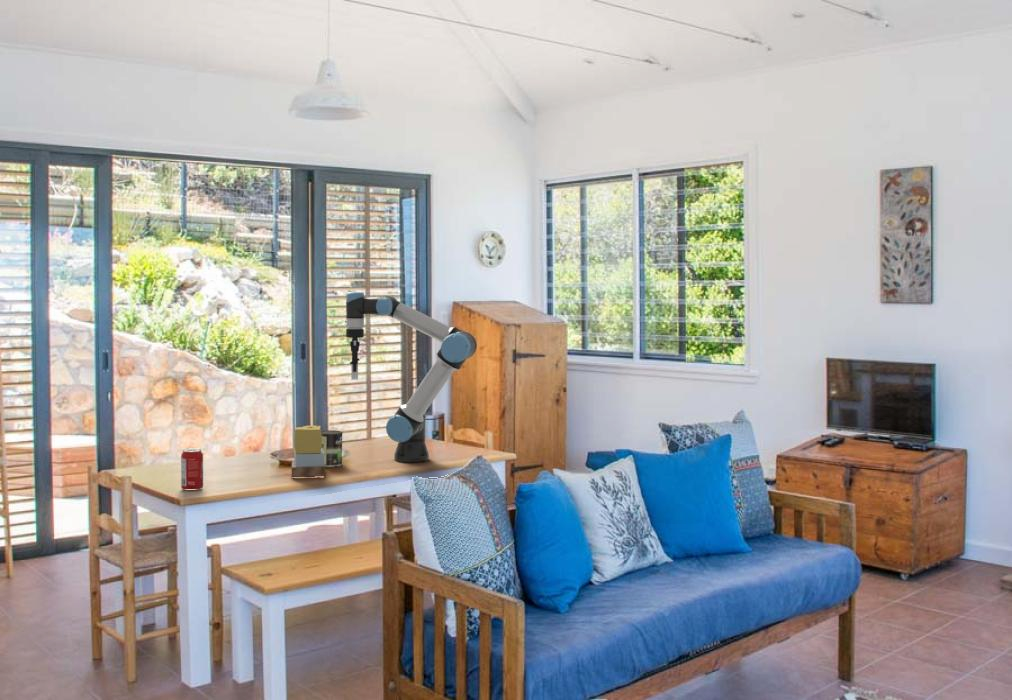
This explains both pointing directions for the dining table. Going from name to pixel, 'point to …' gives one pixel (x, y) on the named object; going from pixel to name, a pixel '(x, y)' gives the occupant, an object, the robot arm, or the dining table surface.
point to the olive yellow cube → (308, 440)
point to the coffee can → (332, 447)
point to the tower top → (309, 459)
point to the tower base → (308, 471)
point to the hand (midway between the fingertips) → (354, 377)
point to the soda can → (192, 469)
